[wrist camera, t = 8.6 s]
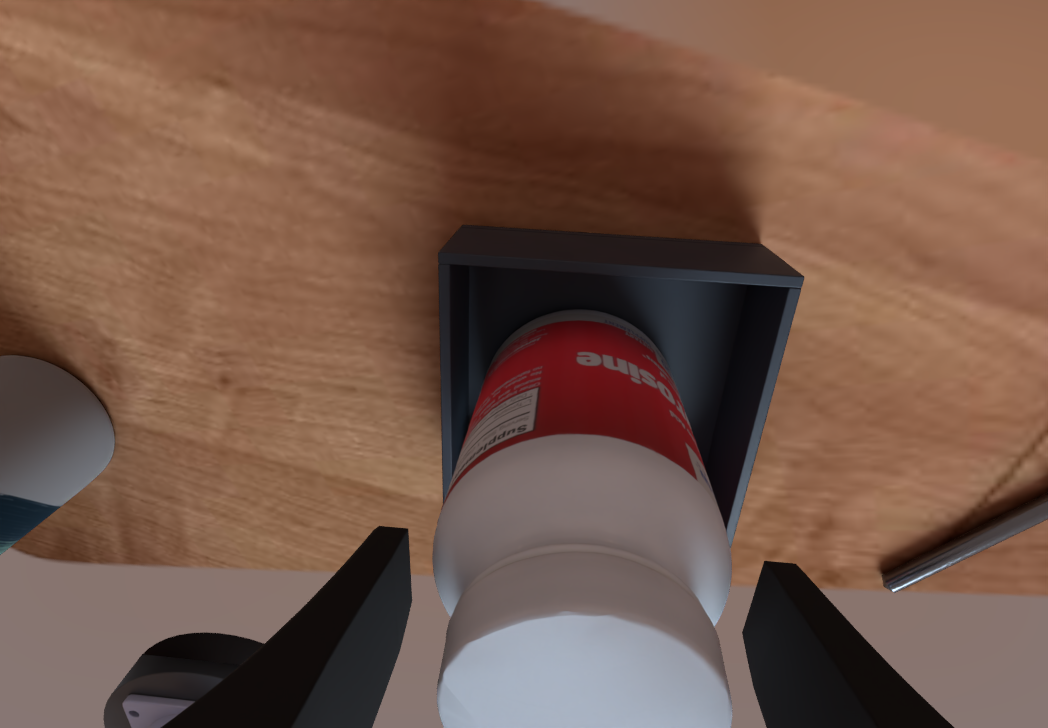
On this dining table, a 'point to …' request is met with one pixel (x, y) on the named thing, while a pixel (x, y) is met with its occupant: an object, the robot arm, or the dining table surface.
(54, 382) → the black capped bottle
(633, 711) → the pill bottle
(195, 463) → the dining table surface
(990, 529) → the rod
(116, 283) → the dining table surface
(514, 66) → the dining table surface
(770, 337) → the box
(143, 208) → the dining table surface
